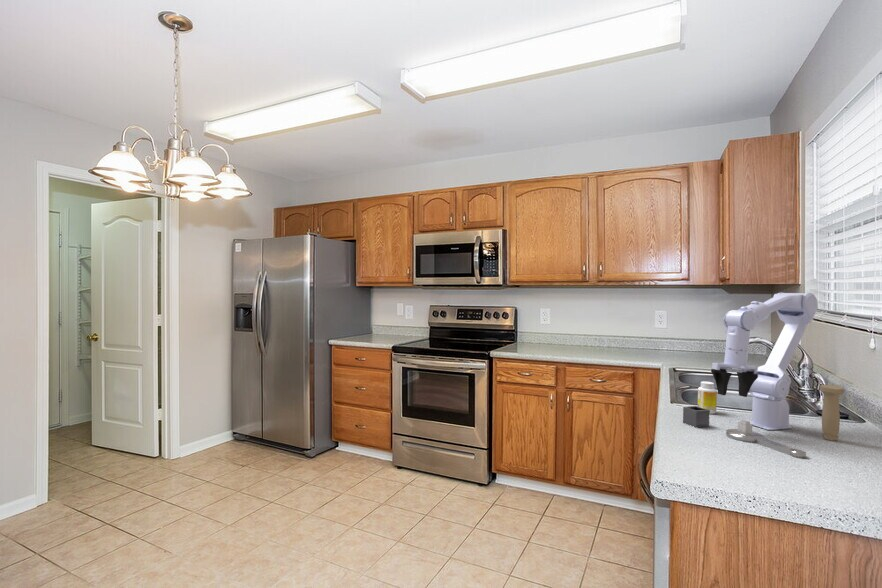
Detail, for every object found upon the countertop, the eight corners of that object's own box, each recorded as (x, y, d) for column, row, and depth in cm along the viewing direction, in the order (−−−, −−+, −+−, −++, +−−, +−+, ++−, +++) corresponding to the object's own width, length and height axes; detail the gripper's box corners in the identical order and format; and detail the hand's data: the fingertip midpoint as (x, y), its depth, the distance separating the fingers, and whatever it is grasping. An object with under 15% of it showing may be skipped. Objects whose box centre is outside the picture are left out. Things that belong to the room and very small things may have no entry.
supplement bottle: (720, 413, 152) (720, 383, 152) (708, 415, 150) (709, 384, 150) (705, 409, 157) (706, 380, 157) (693, 410, 155) (694, 381, 155)
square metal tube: (695, 421, 142) (696, 406, 142) (709, 426, 137) (709, 410, 137) (682, 422, 140) (683, 406, 140) (696, 427, 135) (696, 411, 135)
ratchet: (742, 431, 133) (742, 415, 133) (817, 456, 113) (818, 438, 113) (718, 433, 130) (718, 417, 130) (791, 459, 110) (791, 441, 110)
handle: (843, 439, 127) (845, 387, 127) (839, 444, 123) (840, 390, 123) (821, 435, 131) (823, 384, 131) (816, 439, 127) (818, 386, 126)
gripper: (727, 349, 128) (723, 397, 128) (768, 353, 131) (764, 400, 131) (708, 346, 135) (703, 391, 135) (747, 350, 138) (743, 394, 138)
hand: (732, 395), depth 133 cm, fingers open, 7 cm apart
